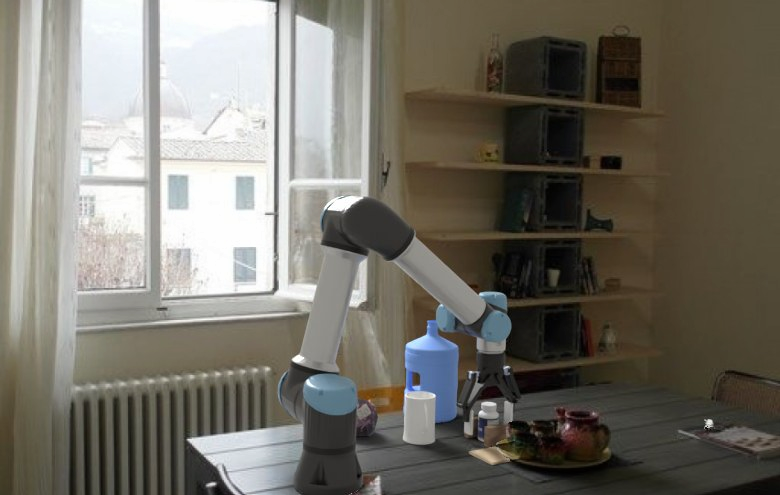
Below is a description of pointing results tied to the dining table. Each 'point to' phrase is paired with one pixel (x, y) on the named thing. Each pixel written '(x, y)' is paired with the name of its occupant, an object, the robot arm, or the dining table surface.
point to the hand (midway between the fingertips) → (488, 430)
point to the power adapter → (709, 423)
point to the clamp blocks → (489, 433)
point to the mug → (419, 418)
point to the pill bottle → (487, 418)
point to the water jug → (434, 370)
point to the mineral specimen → (365, 418)
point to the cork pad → (489, 455)
